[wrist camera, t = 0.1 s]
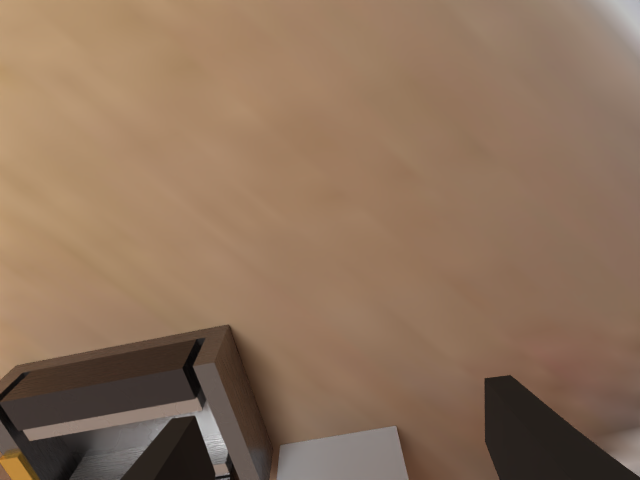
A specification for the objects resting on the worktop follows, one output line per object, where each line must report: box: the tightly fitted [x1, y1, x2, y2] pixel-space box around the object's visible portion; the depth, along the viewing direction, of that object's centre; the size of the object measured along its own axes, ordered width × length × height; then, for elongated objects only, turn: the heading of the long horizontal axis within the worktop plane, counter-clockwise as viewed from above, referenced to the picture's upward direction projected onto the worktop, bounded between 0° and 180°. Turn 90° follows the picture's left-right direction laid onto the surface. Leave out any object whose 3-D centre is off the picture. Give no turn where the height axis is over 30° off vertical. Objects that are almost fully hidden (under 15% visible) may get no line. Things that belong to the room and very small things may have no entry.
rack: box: [0, 325, 273, 480], centre depth 21 cm, size 9×12×3 cm
